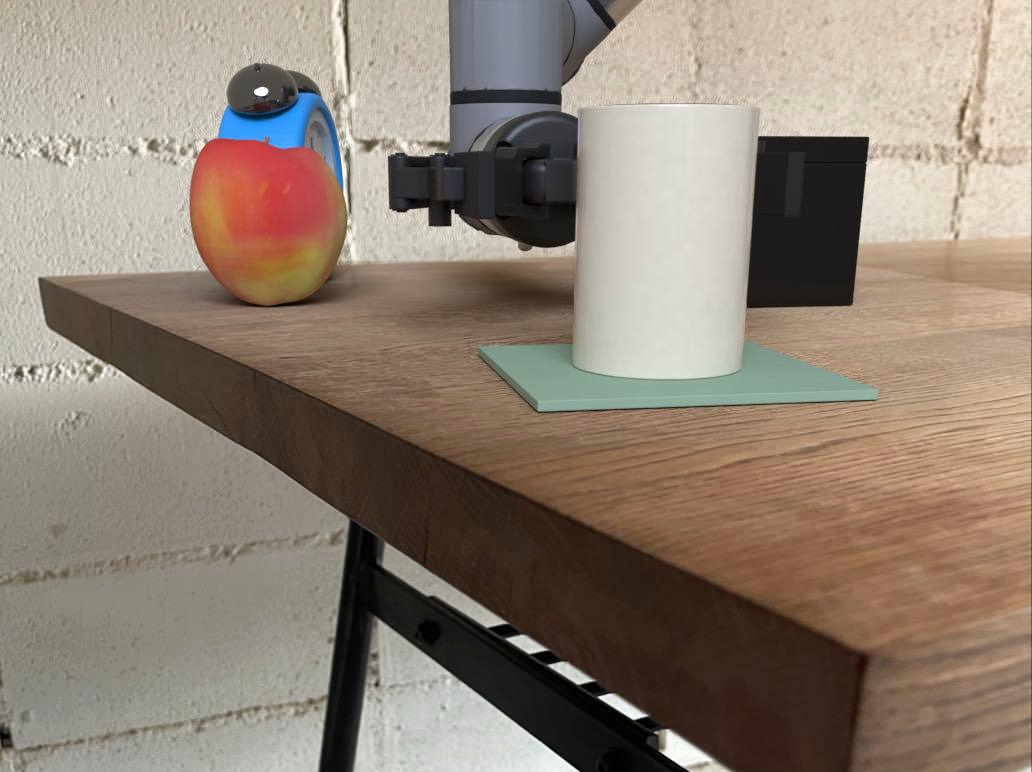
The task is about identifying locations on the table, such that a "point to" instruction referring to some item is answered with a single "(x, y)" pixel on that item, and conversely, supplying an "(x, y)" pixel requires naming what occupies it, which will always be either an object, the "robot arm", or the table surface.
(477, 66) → the robot arm
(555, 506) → the table surface
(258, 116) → the alarm clock
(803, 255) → the shelf
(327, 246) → the apple
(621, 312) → the cup
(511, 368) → the mat
